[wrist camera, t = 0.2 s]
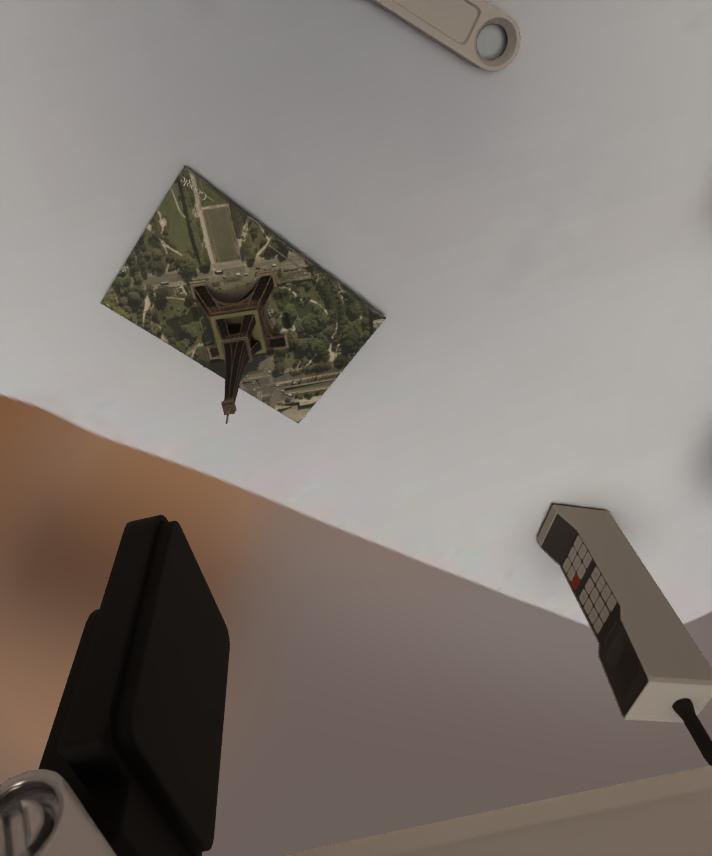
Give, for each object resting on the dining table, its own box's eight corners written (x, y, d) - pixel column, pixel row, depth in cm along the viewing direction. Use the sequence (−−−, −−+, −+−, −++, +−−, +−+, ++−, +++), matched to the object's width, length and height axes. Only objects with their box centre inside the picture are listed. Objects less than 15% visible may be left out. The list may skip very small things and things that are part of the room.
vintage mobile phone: (551, 502, 52) (732, 830, 31) (607, 508, 53) (820, 832, 32) (534, 537, 54) (695, 869, 33) (589, 543, 55) (779, 870, 34)
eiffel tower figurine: (390, 313, 42) (429, 421, 31) (298, 423, 46) (303, 554, 35) (185, 164, 37) (142, 229, 25) (99, 303, 40) (27, 414, 29)
